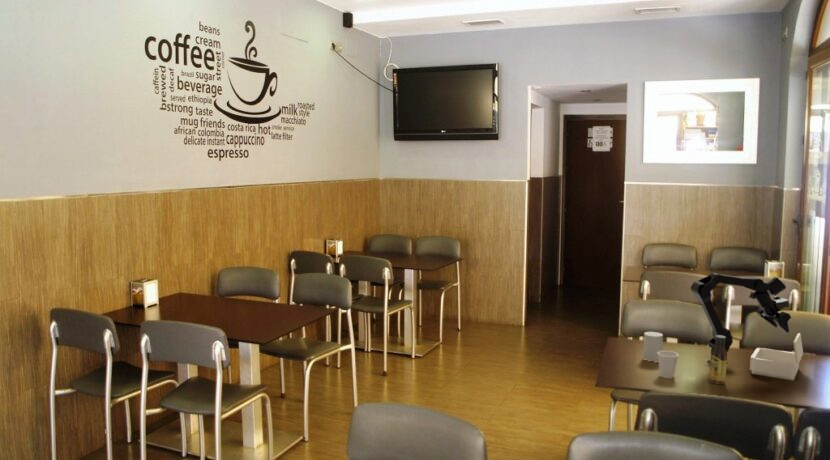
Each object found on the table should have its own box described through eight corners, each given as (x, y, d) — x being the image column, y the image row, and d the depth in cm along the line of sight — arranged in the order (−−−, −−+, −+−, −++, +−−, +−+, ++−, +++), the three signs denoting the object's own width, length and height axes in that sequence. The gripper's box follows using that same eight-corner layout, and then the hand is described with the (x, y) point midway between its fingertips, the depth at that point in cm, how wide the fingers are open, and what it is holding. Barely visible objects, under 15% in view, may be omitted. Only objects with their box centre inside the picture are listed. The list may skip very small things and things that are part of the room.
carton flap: (793, 342, 284) (795, 342, 284) (797, 333, 298) (800, 333, 297) (796, 363, 284) (798, 363, 284) (800, 353, 298) (803, 353, 297)
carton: (749, 373, 294) (750, 357, 293) (756, 362, 310) (757, 347, 309) (793, 381, 284) (794, 364, 284) (798, 368, 300) (799, 353, 300)
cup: (661, 357, 317) (662, 332, 315) (661, 362, 309) (663, 337, 308) (643, 356, 319) (644, 331, 318) (643, 361, 312) (644, 335, 310)
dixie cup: (667, 380, 285) (668, 357, 284) (652, 374, 293) (653, 352, 291) (681, 377, 289) (682, 354, 288) (666, 371, 296) (667, 349, 295)
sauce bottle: (706, 380, 286) (708, 334, 283) (720, 379, 286) (722, 333, 284) (714, 385, 279) (716, 338, 277) (728, 385, 280) (731, 337, 277)
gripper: (792, 295, 298) (810, 324, 299) (769, 287, 316) (785, 314, 318) (770, 309, 298) (788, 338, 300) (748, 300, 317) (765, 328, 318)
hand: (782, 329), depth 309 cm, fingers open, 9 cm apart
